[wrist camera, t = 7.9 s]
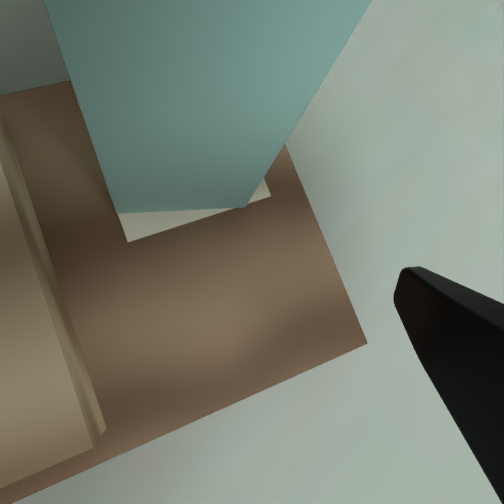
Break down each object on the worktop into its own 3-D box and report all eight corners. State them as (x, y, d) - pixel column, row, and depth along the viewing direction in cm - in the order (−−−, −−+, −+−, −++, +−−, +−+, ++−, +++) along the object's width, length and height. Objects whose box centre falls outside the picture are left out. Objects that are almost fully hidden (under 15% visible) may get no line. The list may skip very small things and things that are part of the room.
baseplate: (342, 343, 20) (368, 343, 17) (23, 484, 16) (-2, 509, 14) (233, 76, 22) (243, 41, 19) (-78, 150, 18) (-116, 118, 15)
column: (245, 207, 18) (450, -129, 5) (116, 214, 16) (-23, -194, 4) (232, 95, 18) (379, -422, 6) (109, 93, 17) (-22, -541, 5)
